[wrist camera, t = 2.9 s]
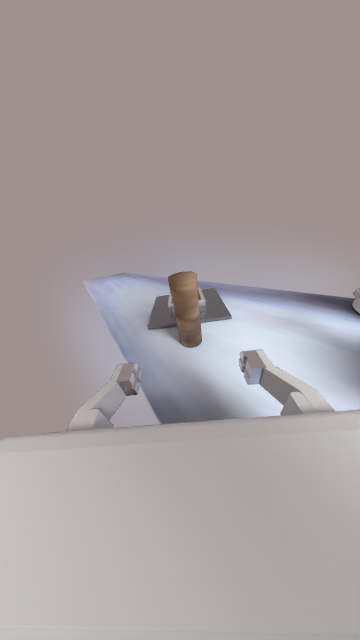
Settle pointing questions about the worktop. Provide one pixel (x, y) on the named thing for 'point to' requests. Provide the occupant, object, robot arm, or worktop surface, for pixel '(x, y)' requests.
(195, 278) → the walnut peg
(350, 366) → the worktop surface
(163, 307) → the plate
